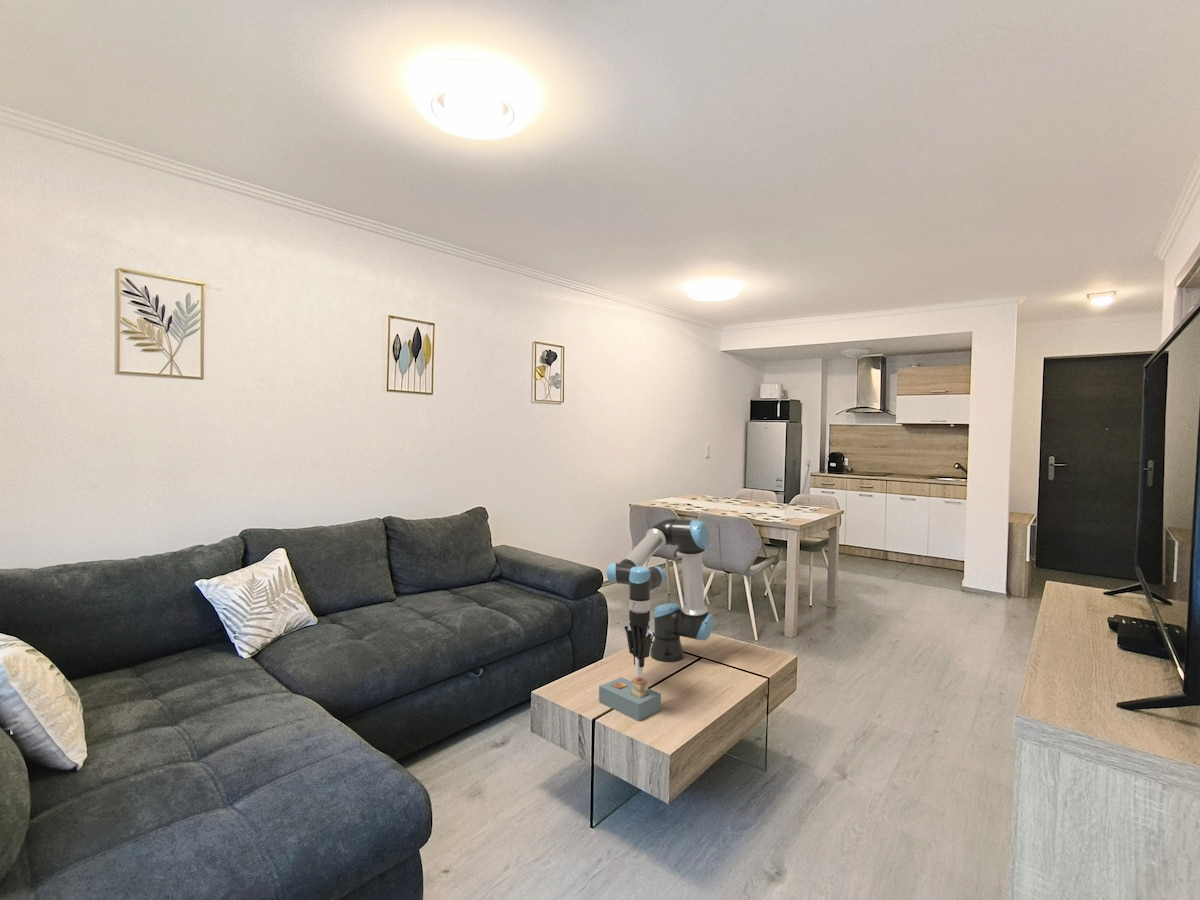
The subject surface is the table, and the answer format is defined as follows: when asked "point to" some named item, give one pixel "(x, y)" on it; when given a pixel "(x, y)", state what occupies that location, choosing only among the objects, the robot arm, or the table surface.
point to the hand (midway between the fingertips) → (638, 674)
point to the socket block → (629, 700)
